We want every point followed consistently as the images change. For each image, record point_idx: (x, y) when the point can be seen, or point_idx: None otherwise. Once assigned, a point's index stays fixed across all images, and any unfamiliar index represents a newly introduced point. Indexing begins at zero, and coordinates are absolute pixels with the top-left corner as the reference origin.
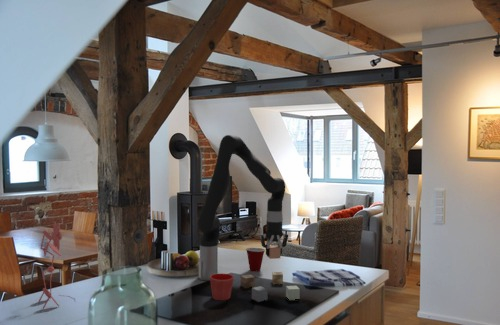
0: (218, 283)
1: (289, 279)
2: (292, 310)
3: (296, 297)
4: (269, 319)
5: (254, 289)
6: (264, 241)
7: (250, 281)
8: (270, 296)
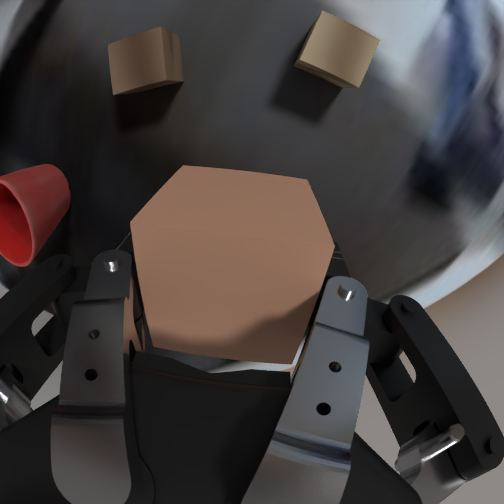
0: (12, 252)
1: (407, 40)
2: None
3: None
4: None
5: None
6: (48, 374)
7: (149, 86)
8: None
